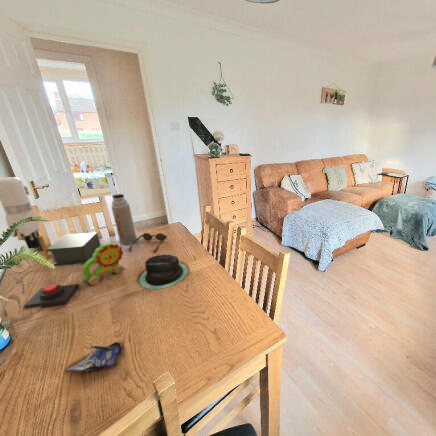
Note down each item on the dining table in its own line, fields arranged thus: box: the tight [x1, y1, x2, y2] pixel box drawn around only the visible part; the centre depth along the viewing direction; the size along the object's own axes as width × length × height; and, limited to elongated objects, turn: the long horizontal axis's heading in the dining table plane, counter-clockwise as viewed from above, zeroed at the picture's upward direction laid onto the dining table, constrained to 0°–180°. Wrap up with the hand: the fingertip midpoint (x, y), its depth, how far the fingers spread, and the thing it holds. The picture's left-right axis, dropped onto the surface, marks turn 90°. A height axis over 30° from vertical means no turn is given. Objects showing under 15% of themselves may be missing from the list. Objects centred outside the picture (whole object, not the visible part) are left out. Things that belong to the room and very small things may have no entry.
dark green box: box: [46, 231, 102, 267], centre depth 120 cm, size 14×16×9 cm
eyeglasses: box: [129, 232, 168, 253], centre depth 133 cm, size 15×15×5 cm
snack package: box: [65, 342, 122, 373], centre depth 70 cm, size 12×6×12 cm
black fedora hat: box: [138, 253, 189, 290], centre depth 110 cm, size 15×19×20 cm
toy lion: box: [82, 242, 124, 286], centre depth 105 cm, size 16×5×15 cm, turn 155°
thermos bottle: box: [111, 193, 138, 246], centre depth 132 cm, size 8×8×28 cm
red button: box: [43, 284, 58, 294], centre depth 92 cm, size 4×4×2 cm
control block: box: [23, 283, 80, 309], centre depth 93 cm, size 12×10×4 cm
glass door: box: [37, 235, 56, 263], centre depth 113 cm, size 3×7×14 cm, turn 17°
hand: (34, 247), depth 104 cm, fingers closed
